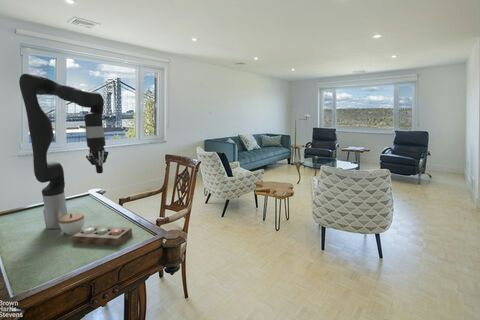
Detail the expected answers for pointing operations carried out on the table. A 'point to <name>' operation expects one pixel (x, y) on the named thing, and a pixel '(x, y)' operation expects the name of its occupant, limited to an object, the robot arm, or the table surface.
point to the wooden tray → (102, 236)
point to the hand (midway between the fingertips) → (99, 173)
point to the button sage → (102, 231)
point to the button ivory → (88, 230)
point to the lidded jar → (71, 223)
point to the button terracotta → (116, 232)
